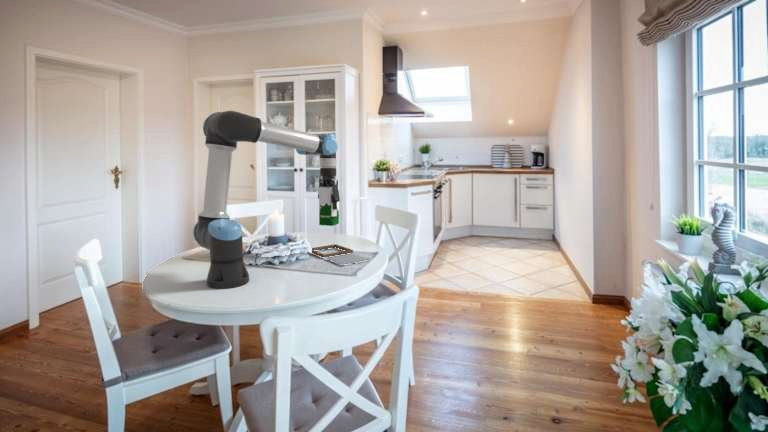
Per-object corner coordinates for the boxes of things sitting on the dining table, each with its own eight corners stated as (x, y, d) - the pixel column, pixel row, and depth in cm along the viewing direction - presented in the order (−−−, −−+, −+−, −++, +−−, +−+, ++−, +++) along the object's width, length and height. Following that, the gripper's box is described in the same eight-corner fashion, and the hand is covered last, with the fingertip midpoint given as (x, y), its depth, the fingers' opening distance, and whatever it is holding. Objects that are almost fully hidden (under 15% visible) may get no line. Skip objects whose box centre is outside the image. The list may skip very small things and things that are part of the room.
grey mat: (368, 261, 197) (368, 259, 197) (342, 266, 188) (342, 264, 188) (351, 255, 208) (351, 253, 208) (325, 260, 199) (325, 257, 199)
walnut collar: (353, 254, 211) (353, 249, 210) (323, 259, 201) (323, 254, 201) (335, 248, 223) (335, 244, 223) (307, 252, 214) (307, 248, 213)
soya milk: (341, 223, 213) (340, 182, 210) (333, 226, 204) (333, 183, 201) (324, 222, 215) (323, 181, 212) (316, 225, 207) (315, 182, 204)
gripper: (347, 168, 199) (347, 217, 203) (323, 166, 217) (324, 211, 220) (332, 168, 195) (333, 218, 198) (310, 166, 212) (310, 213, 215)
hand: (328, 215), depth 209 cm, fingers closed on soya milk, 9 cm apart
